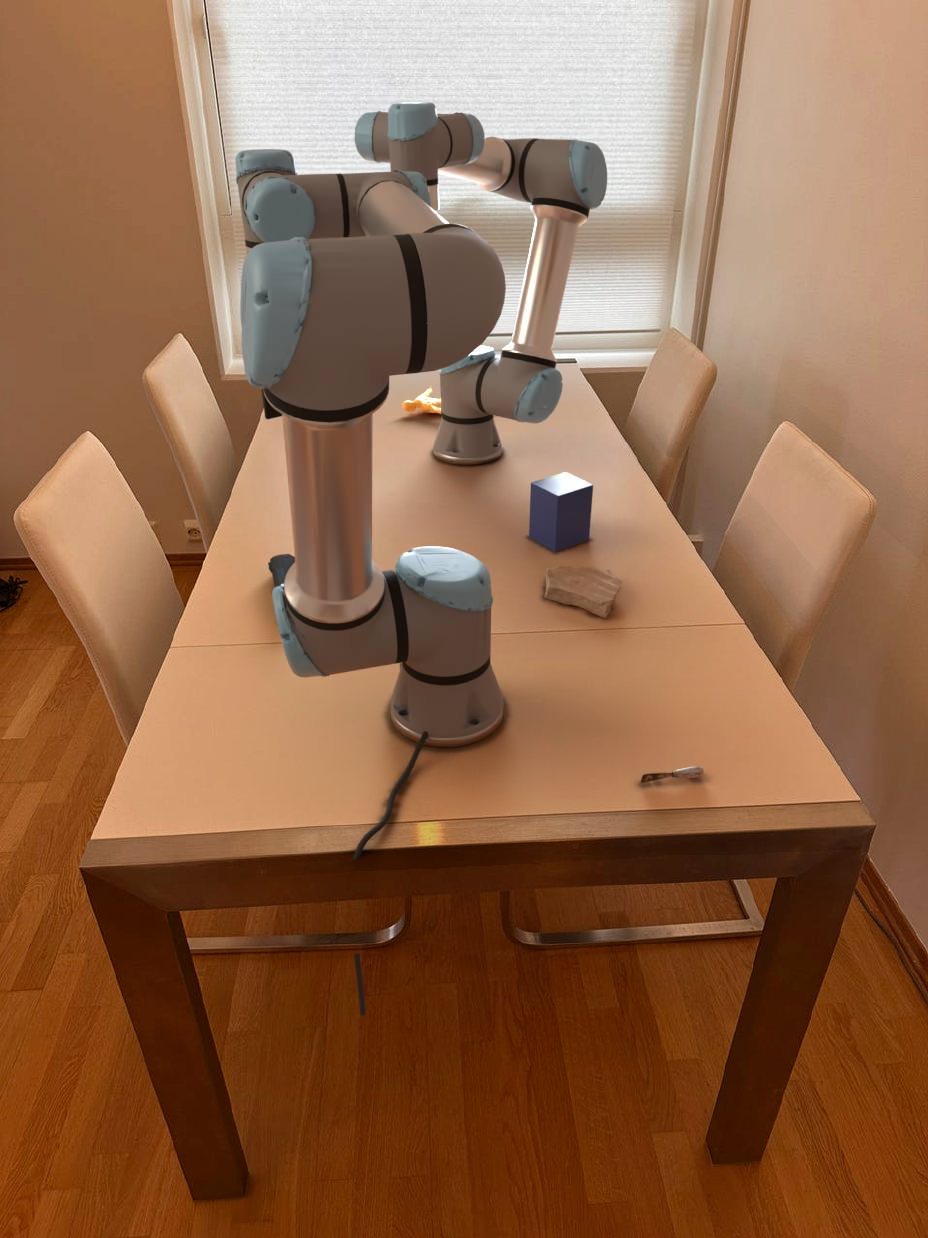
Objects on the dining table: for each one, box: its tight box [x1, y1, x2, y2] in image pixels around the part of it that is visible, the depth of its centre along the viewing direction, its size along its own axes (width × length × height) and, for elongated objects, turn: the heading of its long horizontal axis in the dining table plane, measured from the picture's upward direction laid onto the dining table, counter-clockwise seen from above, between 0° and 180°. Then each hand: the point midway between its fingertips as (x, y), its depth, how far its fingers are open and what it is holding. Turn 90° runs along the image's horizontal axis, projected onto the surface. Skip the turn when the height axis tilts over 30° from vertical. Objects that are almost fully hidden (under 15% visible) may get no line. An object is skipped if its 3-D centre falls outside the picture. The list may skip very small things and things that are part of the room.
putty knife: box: [640, 765, 705, 784], centre depth 109 cm, size 1×8×2 cm, turn 103°
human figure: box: [402, 385, 441, 415], centre depth 225 cm, size 20×20×4 cm
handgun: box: [267, 553, 295, 588], centre depth 148 cm, size 3×18×12 cm
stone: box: [544, 565, 622, 619], centre depth 147 cm, size 13×12×2 cm
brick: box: [528, 471, 594, 553], centre depth 162 cm, size 8×7×11 cm
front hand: (294, 429), depth 132 cm, fingers open, 13 cm apart
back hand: (420, 347), depth 154 cm, fingers open, 13 cm apart
